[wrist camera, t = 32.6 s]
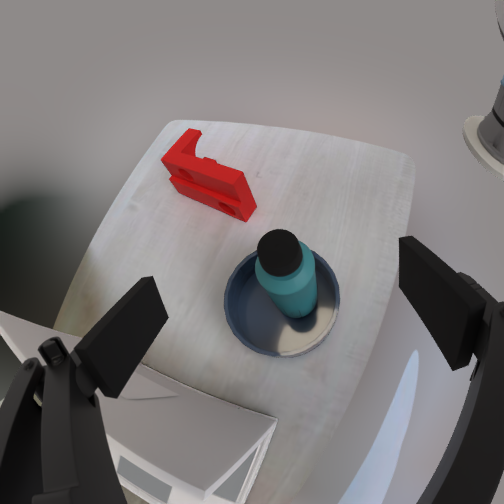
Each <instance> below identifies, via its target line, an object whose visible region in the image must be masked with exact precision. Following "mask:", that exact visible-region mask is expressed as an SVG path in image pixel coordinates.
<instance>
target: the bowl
mask: <svg viewBox="0 0 504 504" xmlns="http://www.w3.org/2000/svg"><path fill="white" fill-rule="evenodd" d="M311 252H312V254H313V256H314V260H315V275H316V281H317V282H316V284H317V285H318V289H317V297H318V300H317V303H316V304H317V305H316V306H315V307H314V310H312V311H311V312H310V313H309V314H308V315H306V316H304V317H302V318H301V317H300V318H299V319H298V318H291V317H289V318H288V316H286V315H284V314H283V313H282V312H280V310H279V309H277V308H278V307H277V306H276V304H275V303H274V302H273V301H272V300H271V298H270V296H269V295H268V293H267V291H266V290H265V289H264V287H263V286H262V285H261V284H260V283H259V281H258V279H257V276H256V272H255V264H256V260H257V257H258V255H257V250H256V251H255V252H253V253H252V254H250V255H248V256H247V257H246V258H245V259H244V260H243V261H242V262H241V263H240V264H239V265H237V267H236V268H235V270H234V271H233V273H232V275H231V276H230V278H229V280H228V283H227V286H226V290H225V294H224V310H225V315H226V319H227V322H228V324H229V326H230V328H231V330H232V332H233V334H234V335H235V336H236V337H237V338H238V339H239V340H240V341H241V342H242V343H243V344H244V345H245V346H247V347H249V348H250V349H252V350H254V351H255V352H257V353H261V354H265V355H268V356H272V357H276V358H293V357H297V356H300V355H303V354H306V353H308V352H310V351H312V350H313V349H315V348H316V347H317V346H319V345H320V344H321V343H322V342H323V341H324V340H325V338H326V337H327V336H328V335H329V333H330V331H331V329H332V327H333V325H334V323H335V321H336V318H337V314H338V309H339V304H340V294H339V285H338V282H337V280H336V277H335V274H334V272H333V270H332V269H331V268H330V266H329V265H328V264H327V262H326V261H325V260H324V259H323V258H322V257H320V256H319V255H318V254H317V253H315V252H314V251H312V250H311ZM276 307H277V308H276Z"/></svg>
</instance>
